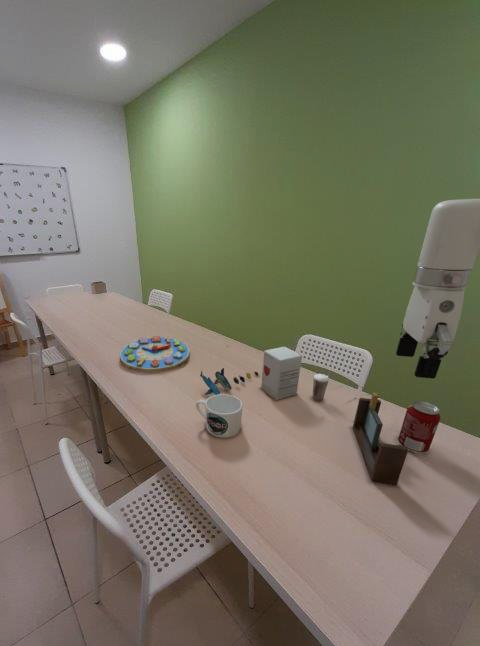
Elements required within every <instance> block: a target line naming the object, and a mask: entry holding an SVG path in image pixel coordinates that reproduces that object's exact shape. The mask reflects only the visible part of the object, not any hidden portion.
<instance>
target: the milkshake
mask: <svg viewBox="0 0 480 646" xmlns="http://www.w3.org/2000/svg"><path fill="white" fill-rule="evenodd" d="M330 374H331V370H330V371H329V372H328V374H327V375H326V374H323V373H317V374H314V376H313V383H312V384H313V385H312V396H311V397H312V398H311V399H312V400H313V401H314V402H317V403H321V402H323V401H324V397H325V394H326V391H327V388H328V384H329V381H330V378H329V376H330Z"/></svg>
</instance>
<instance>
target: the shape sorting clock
mask: <svg viewBox="0 0 480 646" xmlns="http://www.w3.org/2000/svg"><path fill="white" fill-rule="evenodd" d="M190 351H191V350H190V348H189V345H187V344H186V343H185V342H183V341H182V340H180V339H176V338H174V337H173V338H172V337H171V336H165V337H164V336H159V335H156V336H155V335H154V336H151V337H141V338H138V339H136V340H135V341H132V342H129V343H127V345H125V346H124V347H123V348H122V349H121V350H120V352H119V359H120V361H121V363H122V365H125V367H128V368H129V369H133V370H137V371H143V372H159V371H164V370H169V369H173V368H175V367H178V366H179V367H180V366H181V364H183V363H185V362H186V361H187V360H188V359H189V357H190V354H191V352H190Z"/></svg>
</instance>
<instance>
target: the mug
mask: <svg viewBox="0 0 480 646" xmlns="http://www.w3.org/2000/svg"><path fill="white" fill-rule="evenodd" d="M200 404H203V405H204V409H205V412H204V411H203V410H202V409H201V407H200ZM243 406H244V405H243V402H242V400H241V399H240V398H238V397H237V396H235V395H233V394H228V393H220V394H217V395H215V394H214V395H210V396H209V397H208V398H207V399H206V400H205V399H199V400H197V401H196V403H195V408H196V411H198V413H199V414H200V416H201V417H202V418H204V419H205V426H206V430H207V431H208V433H209V434H211V435H212V436H214V437H217V438H223V439H227V438H232V437H234V436H236V435H237V434H239V433H240V431H241V425H242V416H243Z"/></svg>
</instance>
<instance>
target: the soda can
mask: <svg viewBox="0 0 480 646" xmlns="http://www.w3.org/2000/svg"><path fill="white" fill-rule="evenodd" d="M440 412H441V411H440V409H439V407H438V406H436V405H434V404H432V403H430V402H427V401H422V400H415V401H412V403H411V405H408V407H407V408H406V411H405V415H404V417H403V421H402V424H401V426H400V430H399V433H398V437H397V441H398V443H399V444H400V446H406V447H407V449H408V451H410V452H415V453H420V454H421V453H428V451H430V449H431V445H432V442H433V440H434V438H435V435H436V432H437V429H438V427H439V424H440V421H441V419H442V418H441V415H440Z"/></svg>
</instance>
